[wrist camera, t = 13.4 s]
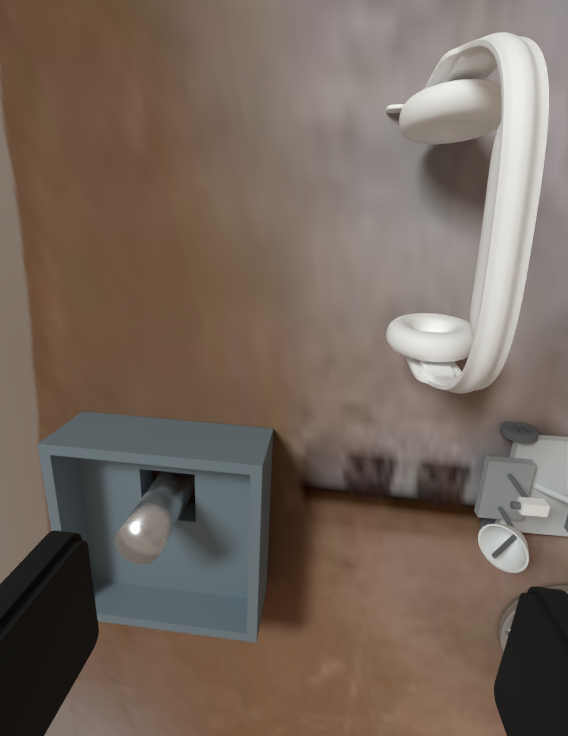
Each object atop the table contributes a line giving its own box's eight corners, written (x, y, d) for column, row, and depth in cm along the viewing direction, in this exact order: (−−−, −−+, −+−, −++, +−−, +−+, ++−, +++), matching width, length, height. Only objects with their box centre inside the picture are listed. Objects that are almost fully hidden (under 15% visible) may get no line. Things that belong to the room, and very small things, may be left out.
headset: (454, 350, 37) (555, 448, 20) (373, 350, 38) (407, 443, 21) (482, 93, 31) (661, -72, 14) (386, 98, 32) (448, -53, 15)
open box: (273, 428, 41) (262, 465, 35) (266, 585, 48) (256, 642, 41) (82, 411, 43) (37, 443, 37) (100, 565, 50) (65, 616, 43)
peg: (197, 496, 45) (161, 567, 36) (161, 493, 45) (116, 561, 36) (196, 464, 44) (159, 528, 34) (159, 460, 44) (112, 522, 35)
